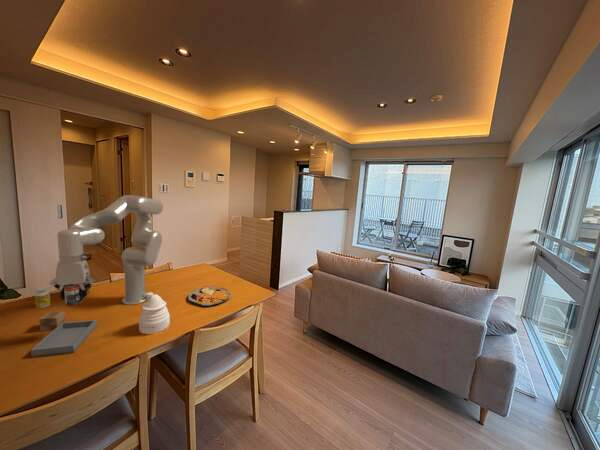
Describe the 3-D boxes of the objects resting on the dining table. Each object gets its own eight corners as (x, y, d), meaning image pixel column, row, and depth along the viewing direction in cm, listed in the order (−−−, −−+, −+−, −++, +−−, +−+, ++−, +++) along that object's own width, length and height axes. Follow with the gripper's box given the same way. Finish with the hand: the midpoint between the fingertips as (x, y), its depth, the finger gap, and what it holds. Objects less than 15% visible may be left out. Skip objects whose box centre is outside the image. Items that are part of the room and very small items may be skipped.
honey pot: (147, 338, 108) (146, 301, 105) (133, 327, 115) (132, 292, 112) (175, 325, 119) (175, 291, 116) (161, 316, 125) (160, 284, 123)
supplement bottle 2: (73, 299, 108) (71, 275, 106) (87, 300, 108) (85, 276, 107) (61, 306, 102) (59, 281, 100) (76, 306, 102) (74, 281, 101)
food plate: (179, 299, 144) (179, 294, 144) (207, 286, 166) (207, 282, 165) (212, 311, 135) (212, 306, 135) (237, 296, 157) (237, 291, 156)
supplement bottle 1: (52, 302, 131) (50, 285, 129) (48, 306, 126) (47, 289, 125) (37, 304, 128) (36, 287, 126) (34, 308, 123) (32, 291, 122)
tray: (96, 325, 114) (96, 319, 113) (73, 352, 96) (73, 345, 95) (62, 328, 110) (61, 322, 109) (31, 357, 92) (30, 350, 91)
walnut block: (65, 322, 114) (64, 311, 113) (57, 330, 109) (56, 317, 108) (49, 324, 112) (48, 312, 111) (40, 331, 107) (39, 319, 106)
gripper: (100, 255, 108) (102, 293, 111) (51, 256, 103) (54, 295, 106) (92, 260, 101) (94, 300, 104) (39, 261, 96) (43, 303, 98)
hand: (74, 297), depth 105 cm, fingers closed on supplement bottle 2, 6 cm apart
